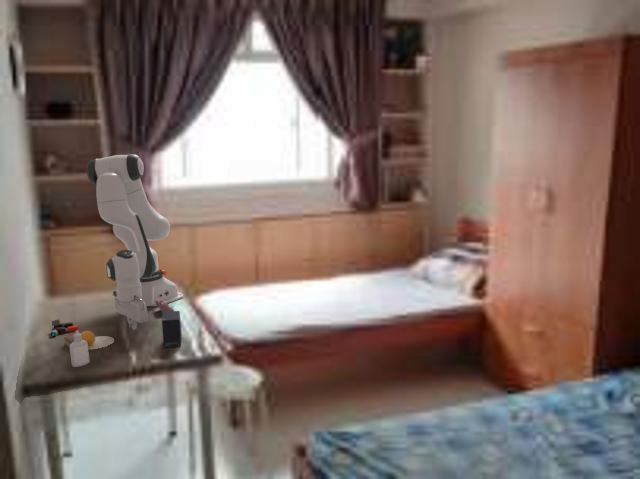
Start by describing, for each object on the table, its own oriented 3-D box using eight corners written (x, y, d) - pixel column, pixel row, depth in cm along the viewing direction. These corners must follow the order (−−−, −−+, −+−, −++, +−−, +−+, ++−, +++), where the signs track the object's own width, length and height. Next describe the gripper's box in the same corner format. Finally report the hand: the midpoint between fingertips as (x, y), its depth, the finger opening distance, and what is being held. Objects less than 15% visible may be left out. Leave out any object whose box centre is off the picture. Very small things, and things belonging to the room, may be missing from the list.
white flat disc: (105, 334, 240) (104, 333, 240) (120, 342, 230) (120, 342, 230) (71, 343, 231) (71, 342, 231) (85, 352, 222) (85, 352, 222)
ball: (93, 331, 232) (80, 327, 228) (100, 335, 228) (86, 331, 224) (87, 345, 231) (73, 341, 227) (94, 349, 227) (80, 346, 223)
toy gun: (48, 339, 238) (46, 327, 237) (55, 328, 249) (54, 317, 248) (75, 336, 239) (73, 324, 238) (81, 326, 251) (80, 315, 250)
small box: (182, 346, 224) (179, 318, 222) (163, 348, 223) (160, 320, 221) (182, 336, 234) (180, 309, 232) (164, 338, 233) (162, 311, 231)
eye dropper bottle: (89, 365, 210) (85, 331, 208) (71, 368, 208) (67, 333, 206) (90, 360, 214) (86, 327, 212) (72, 363, 212) (68, 329, 210)
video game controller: (160, 312, 269) (151, 300, 266) (169, 306, 270) (160, 293, 267) (166, 319, 260) (157, 306, 257) (175, 312, 261) (166, 299, 259)
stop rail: (71, 342, 232) (70, 335, 231) (87, 352, 222) (86, 344, 221) (65, 344, 230) (64, 336, 230) (80, 354, 220) (79, 346, 219)
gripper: (150, 297, 232) (153, 332, 235) (125, 287, 247) (128, 320, 250) (134, 300, 228) (138, 337, 231) (110, 290, 243) (113, 324, 245)
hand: (133, 328), depth 240 cm, fingers closed
